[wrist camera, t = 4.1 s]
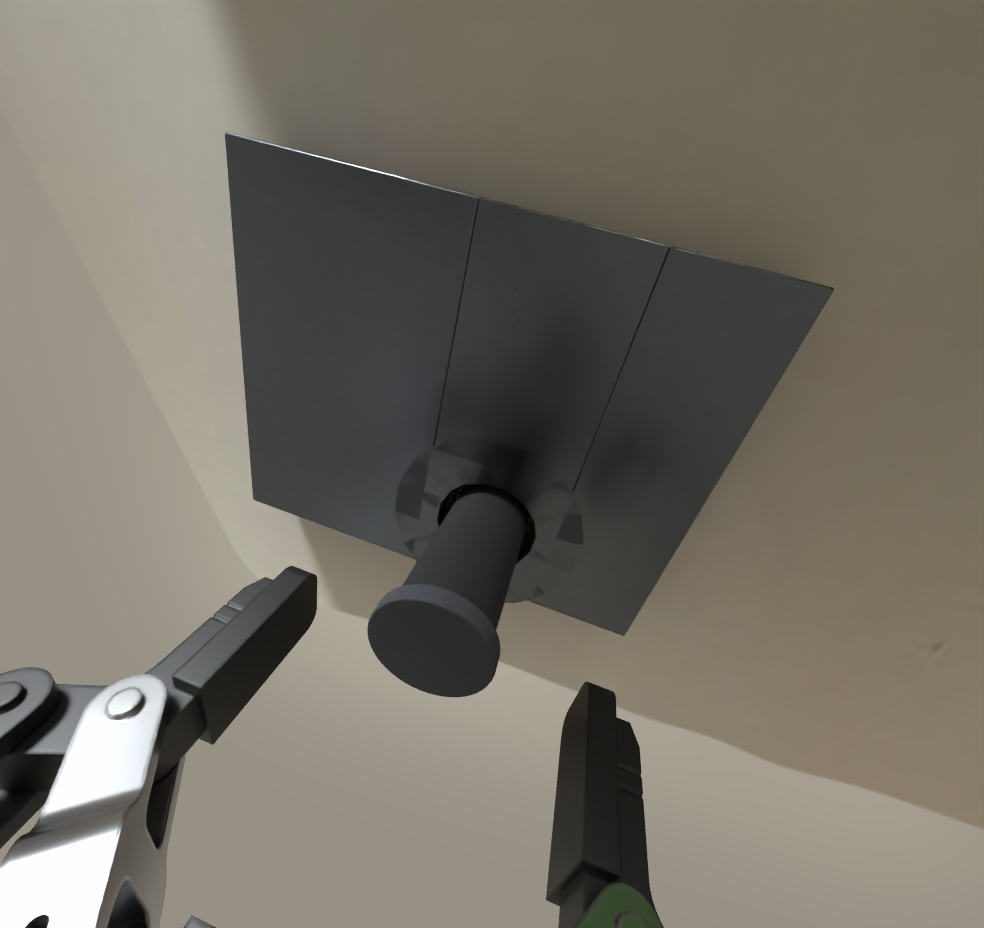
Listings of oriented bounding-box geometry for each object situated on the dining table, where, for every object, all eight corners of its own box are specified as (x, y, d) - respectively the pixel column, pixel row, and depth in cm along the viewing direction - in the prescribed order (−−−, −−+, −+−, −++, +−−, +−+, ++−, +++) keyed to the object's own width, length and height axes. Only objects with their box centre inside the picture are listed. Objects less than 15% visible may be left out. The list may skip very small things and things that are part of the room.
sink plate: (282, 495, 21) (254, 516, 19) (271, 148, 14) (223, 131, 12) (614, 616, 19) (615, 651, 17) (801, 285, 12) (836, 288, 10)
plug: (449, 521, 19) (362, 667, 12) (465, 453, 17) (372, 579, 10) (525, 548, 19) (479, 715, 12) (549, 481, 17) (511, 632, 10)
